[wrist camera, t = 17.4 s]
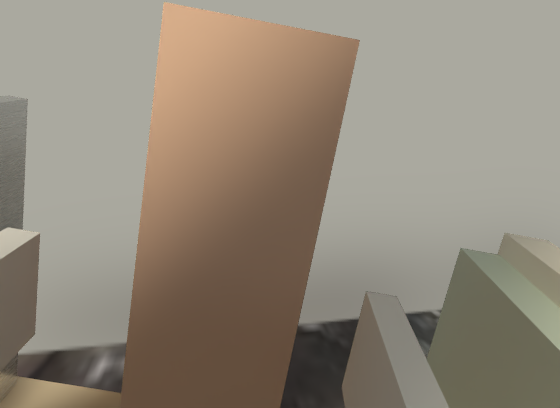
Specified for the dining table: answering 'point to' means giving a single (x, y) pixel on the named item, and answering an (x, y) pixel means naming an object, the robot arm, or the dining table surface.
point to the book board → (57, 396)
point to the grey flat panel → (11, 191)
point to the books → (501, 328)
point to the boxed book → (230, 206)
